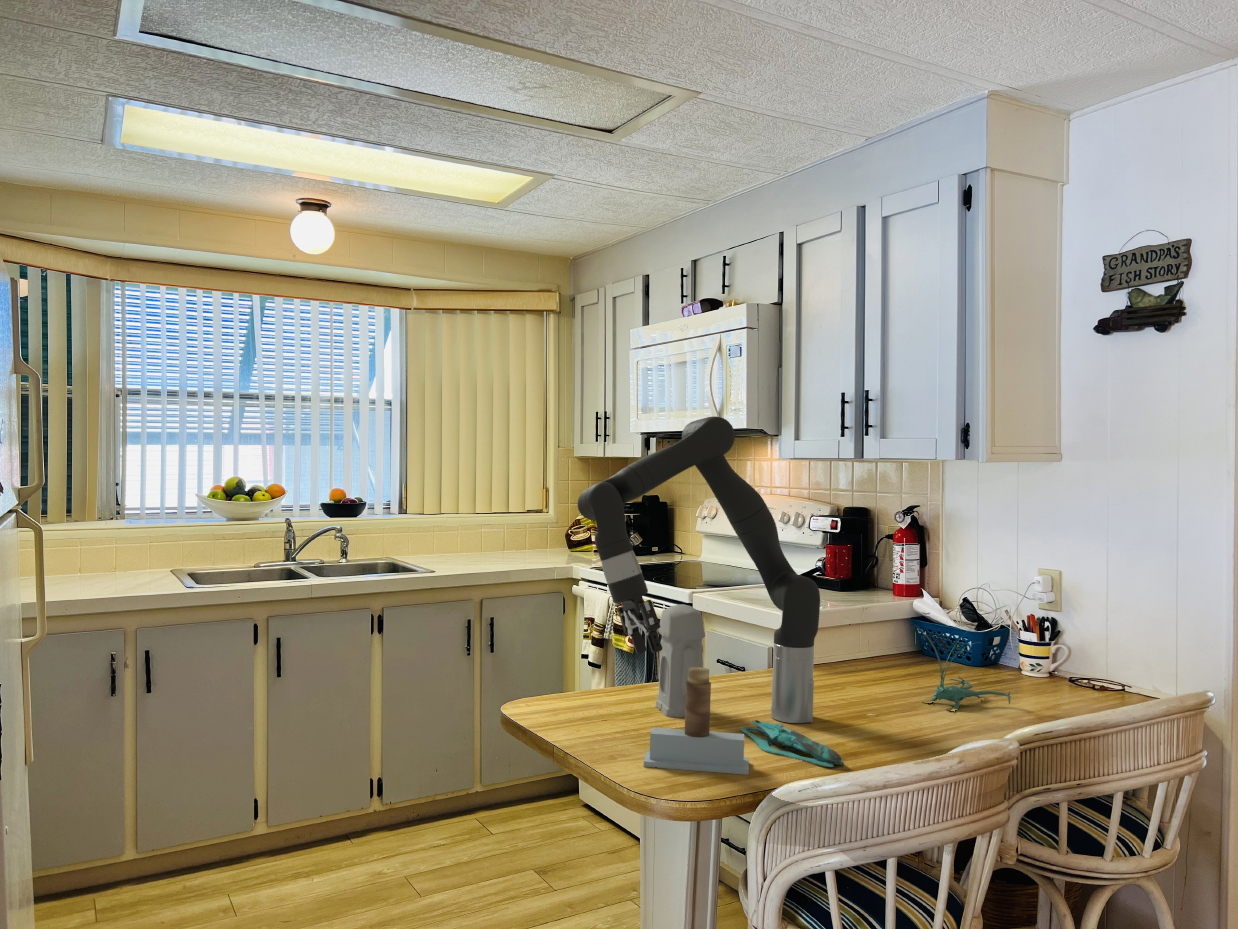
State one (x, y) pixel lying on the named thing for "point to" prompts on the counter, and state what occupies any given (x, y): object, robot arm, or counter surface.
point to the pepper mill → (697, 703)
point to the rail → (697, 751)
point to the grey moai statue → (678, 656)
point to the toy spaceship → (792, 744)
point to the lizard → (958, 692)
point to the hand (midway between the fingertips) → (649, 652)
